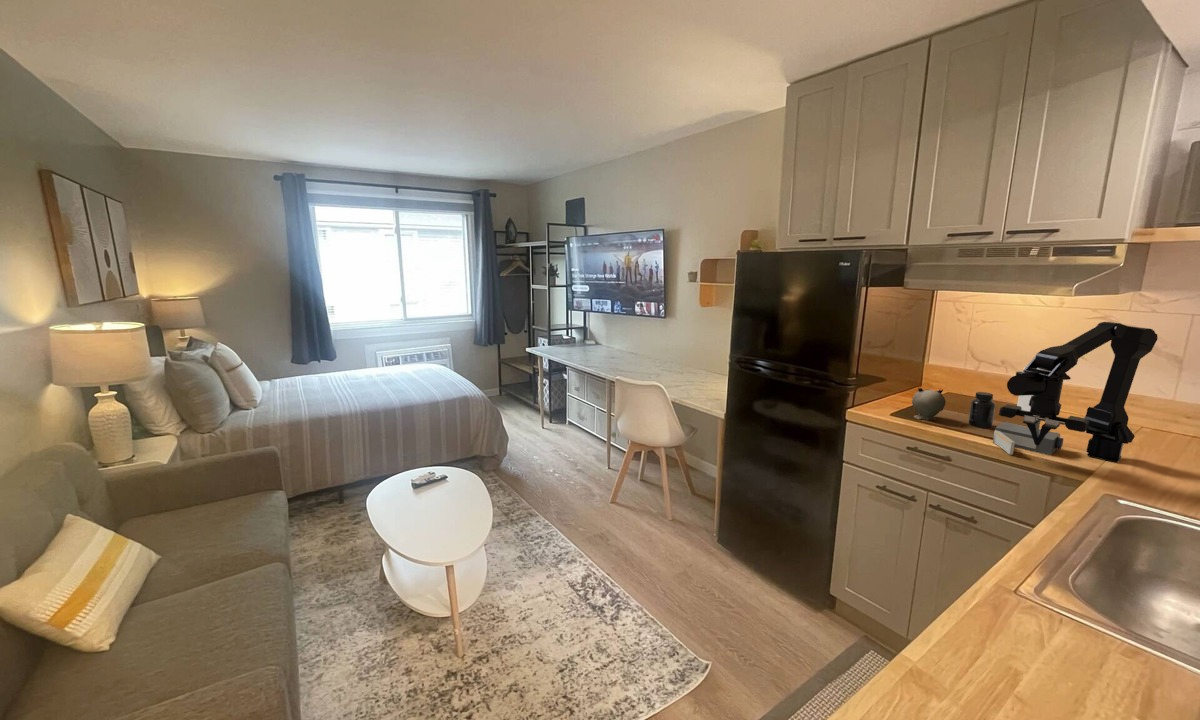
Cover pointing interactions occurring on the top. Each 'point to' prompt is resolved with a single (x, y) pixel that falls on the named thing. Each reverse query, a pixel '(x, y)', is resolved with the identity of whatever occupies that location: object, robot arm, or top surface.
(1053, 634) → the top surface
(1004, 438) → the side door
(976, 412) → the supplement bottle
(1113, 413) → the robot arm
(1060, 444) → the grey rectangular box
